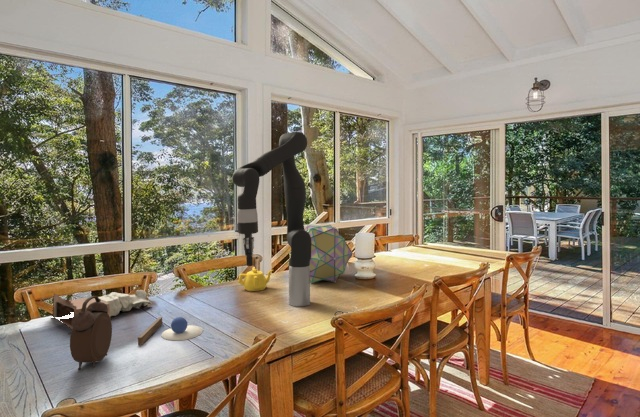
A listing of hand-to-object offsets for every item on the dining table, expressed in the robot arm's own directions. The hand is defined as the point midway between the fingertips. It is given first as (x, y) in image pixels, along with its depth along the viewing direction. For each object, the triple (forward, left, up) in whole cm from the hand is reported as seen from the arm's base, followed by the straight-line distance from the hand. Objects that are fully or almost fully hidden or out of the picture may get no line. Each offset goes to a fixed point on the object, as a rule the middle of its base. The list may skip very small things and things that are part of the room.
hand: (249, 265), depth 154 cm
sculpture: (-31, -63, -22) cm, 74 cm away
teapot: (+3, -48, -22) cm, 53 cm away
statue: (+59, -8, -23) cm, 64 cm away
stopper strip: (+34, +11, -22) cm, 42 cm away
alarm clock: (+43, +34, -22) cm, 59 cm away
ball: (+24, +11, -19) cm, 33 cm away
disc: (+23, +11, -22) cm, 34 cm away
